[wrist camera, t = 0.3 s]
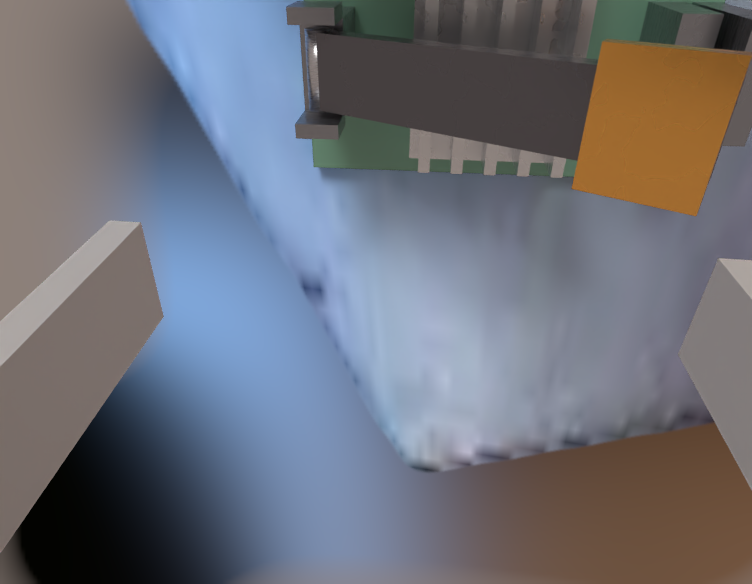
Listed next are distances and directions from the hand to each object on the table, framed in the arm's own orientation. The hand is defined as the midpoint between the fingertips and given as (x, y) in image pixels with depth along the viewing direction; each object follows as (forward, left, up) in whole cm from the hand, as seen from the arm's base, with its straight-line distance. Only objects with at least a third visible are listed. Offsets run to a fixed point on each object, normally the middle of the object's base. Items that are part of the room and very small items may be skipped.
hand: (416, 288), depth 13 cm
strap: (-1, +3, -17) cm, 17 cm away
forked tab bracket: (-1, -6, -27) cm, 28 cm away
